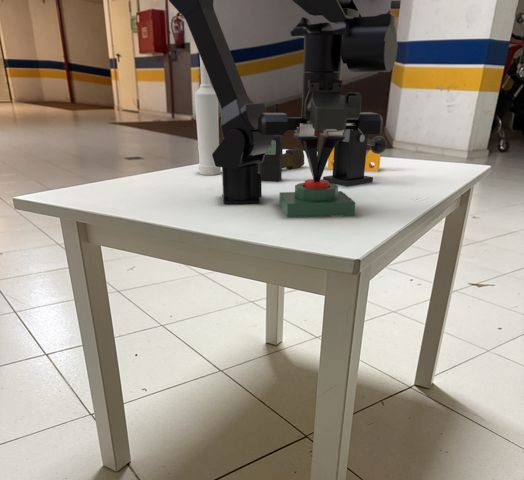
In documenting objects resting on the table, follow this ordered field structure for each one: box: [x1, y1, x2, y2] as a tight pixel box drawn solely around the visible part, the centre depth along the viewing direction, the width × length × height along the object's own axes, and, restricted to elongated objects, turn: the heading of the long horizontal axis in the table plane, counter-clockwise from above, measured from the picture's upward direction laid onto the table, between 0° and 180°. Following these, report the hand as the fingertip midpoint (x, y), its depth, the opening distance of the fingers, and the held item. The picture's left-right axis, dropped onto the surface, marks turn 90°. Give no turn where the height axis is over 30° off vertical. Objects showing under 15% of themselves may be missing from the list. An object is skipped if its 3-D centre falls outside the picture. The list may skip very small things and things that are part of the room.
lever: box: [342, 130, 388, 155], centre depth 104 cm, size 12×4×4 cm, turn 128°
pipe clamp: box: [327, 148, 381, 172], centre depth 119 cm, size 12×4×6 cm, turn 73°
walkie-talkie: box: [259, 103, 284, 183], centre depth 104 cm, size 5×3×15 cm
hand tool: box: [257, 147, 305, 172], centre depth 117 cm, size 19×4×5 cm, turn 135°
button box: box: [278, 182, 356, 219], centre depth 82 cm, size 11×9×4 cm
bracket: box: [322, 130, 374, 188], centre depth 103 cm, size 8×7×11 cm
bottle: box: [193, 53, 222, 176], centre depth 110 cm, size 5×5×25 cm
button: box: [303, 178, 329, 189], centre depth 82 cm, size 4×4×2 cm
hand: (316, 181), depth 81 cm, fingers closed, pressing on button
